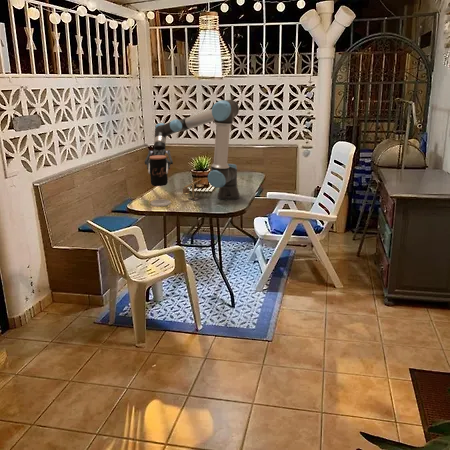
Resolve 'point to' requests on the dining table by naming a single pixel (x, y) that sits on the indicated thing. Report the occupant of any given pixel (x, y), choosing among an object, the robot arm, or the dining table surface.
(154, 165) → the coffee jar
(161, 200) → the dish
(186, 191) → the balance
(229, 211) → the dining table surface
